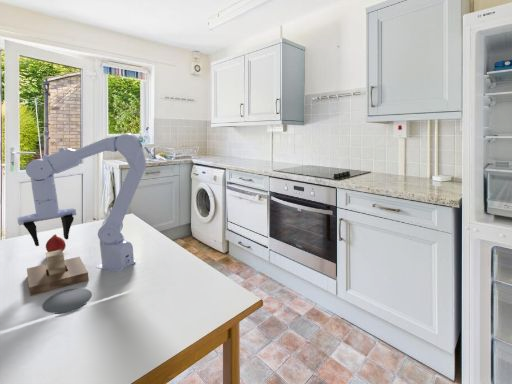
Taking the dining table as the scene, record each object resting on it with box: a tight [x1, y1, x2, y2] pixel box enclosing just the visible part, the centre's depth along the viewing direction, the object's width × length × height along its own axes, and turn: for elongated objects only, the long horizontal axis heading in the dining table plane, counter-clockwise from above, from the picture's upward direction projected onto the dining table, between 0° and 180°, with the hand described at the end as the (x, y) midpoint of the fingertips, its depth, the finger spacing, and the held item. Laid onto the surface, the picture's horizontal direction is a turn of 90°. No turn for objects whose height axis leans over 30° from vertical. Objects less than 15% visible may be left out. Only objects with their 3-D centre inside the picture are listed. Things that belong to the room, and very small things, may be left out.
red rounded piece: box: [45, 234, 66, 252], centre depth 106 cm, size 6×6×8 cm
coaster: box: [42, 287, 93, 315], centre depth 78 cm, size 11×11×1 cm
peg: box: [45, 249, 66, 276], centre depth 89 cm, size 4×4×8 cm
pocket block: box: [26, 256, 90, 297], centre depth 89 cm, size 14×14×3 cm
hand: (52, 241), depth 92 cm, fingers open, 7 cm apart
